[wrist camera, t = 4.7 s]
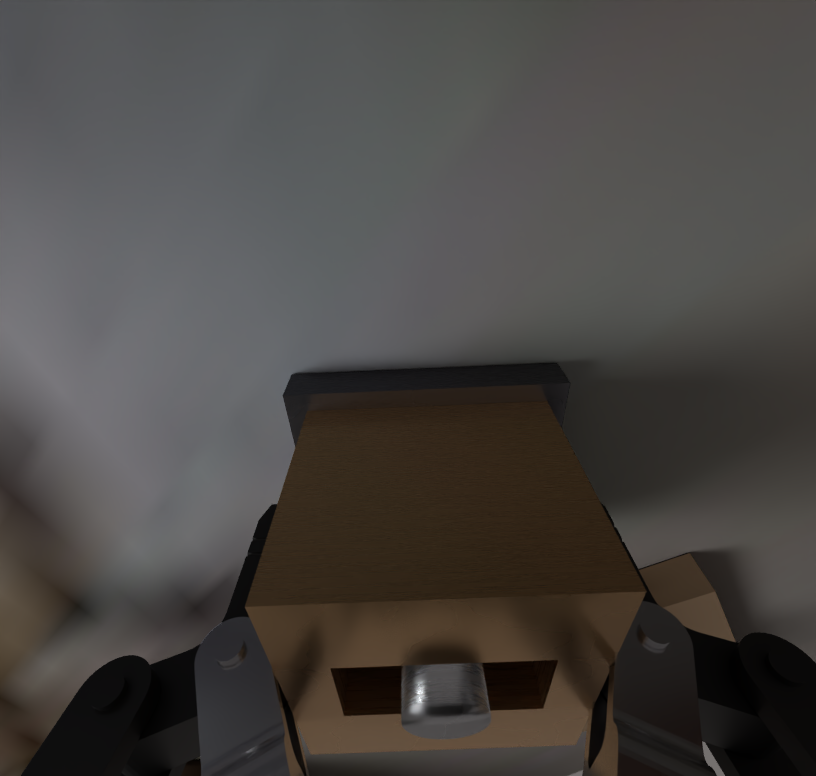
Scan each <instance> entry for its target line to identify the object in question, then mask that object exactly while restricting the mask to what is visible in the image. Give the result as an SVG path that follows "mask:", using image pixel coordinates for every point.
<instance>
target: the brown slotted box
mask: <svg viewBox="0 0 816 776" xmlns="http://www.w3.org/2000/svg"><path fill="white" fill-rule="evenodd" d="M646 592H647V591H646V589H645V587H644V585H643V583H642V582H641V580H640V578H639V576H638V574H637V572H636V570H635V568H634V566H633V564H632V562H631V560H630V559H629V557H628V555H627V553H626V551H625V549H624V547H623V545H622V543H621V541H620V539H619V537H618V536H617V534H616V532H615V530H614V528H613V526H612V524H611V522H610V520H609V518H608V516H607V515H606V513H605V511H604V509H603V507H602V505H601V503H600V501H599V499H598V497H597V495H596V493H595V492H594V490H593V488H592V486H591V484H590V482H589V480H588V478H587V476H586V474H585V472H584V471H583V469H582V467H581V465H580V463H579V461H578V459H577V457H576V455H575V453H574V451H573V449H572V448H571V446H570V444H569V442H568V440H567V438H566V436H565V434H564V432H563V430H562V428H561V426H560V425H559V423H558V421H557V419H556V417H555V415H554V413H553V411H552V409H551V407H550V405H549V404H548V402H547V401H536V402H513V403H489V404H465V405H442V406H418V407H395V408H371V409H347V410H324V411H307V413H306V416H305V419H304V422H303V425H302V429H301V432H300V435H299V438H298V441H297V444H296V447H295V451H294V454H293V457H292V460H291V463H290V466H289V469H288V473H287V476H286V479H285V482H284V485H283V488H282V492H281V495H280V498H279V501H278V504H277V507H276V510H275V514H274V517H273V520H272V523H271V526H270V529H269V532H268V536H267V539H266V542H265V545H264V548H263V551H262V554H261V558H260V561H259V564H258V567H257V570H256V573H255V576H254V580H253V583H252V586H251V589H250V592H249V595H248V598H247V602H246V605H245V609H246V611H247V613H248V615H249V617H250V620H251V622H252V624H253V626H254V629H255V631H256V633H257V635H258V637H259V640H260V642H261V644H262V646H263V649H264V651H265V653H266V655H267V658H268V660H269V662H270V664H271V666H272V668H273V670H274V672H275V675H276V677H277V680H278V682H279V684H280V686H281V689H282V691H283V693H284V695H285V698H286V700H287V702H288V704H289V707H290V709H291V711H292V713H293V715H294V717H295V719H296V721H297V724H298V727H299V729H300V731H301V733H302V735H303V738H304V740H305V742H306V744H307V747H308V749H309V751H310V753H311V754H336V753H364V752H392V751H420V750H448V749H476V748H504V747H532V746H560V745H576V743H577V741H578V739H579V737H580V735H581V732H582V730H583V728H584V726H585V724H586V722H587V719H588V711H589V709H590V707H591V705H592V702H594V701H596V700H597V698H598V696H599V693H600V691H601V689H602V687H603V685H604V683H605V680H606V678H607V676H608V674H609V667H610V663H611V661H612V658H613V656H614V654H615V652H619V650H620V648H621V646H622V644H623V642H624V639H625V637H626V635H627V633H628V631H629V629H630V626H631V624H632V622H633V620H634V618H635V616H636V613H637V611H638V609H639V607H640V605H641V603H642V600H643V598H644V596H645V594H646ZM462 663H483V667H484V674H485V680H486V687H487V693H488V700H489V706H490V713H491V723H490V724H489V726H488V727H487V728H485V729H484V730H482V731H481V732H478V733H476V734H473V735H470V736H467V737H462V738H456V739H428V738H422V737H418V736H415V735H413V734H411V733H409V732H407V731H406V730H405V729H404V728H403V727H402V724H401V666H408V665H435V664H462Z"/></svg>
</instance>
